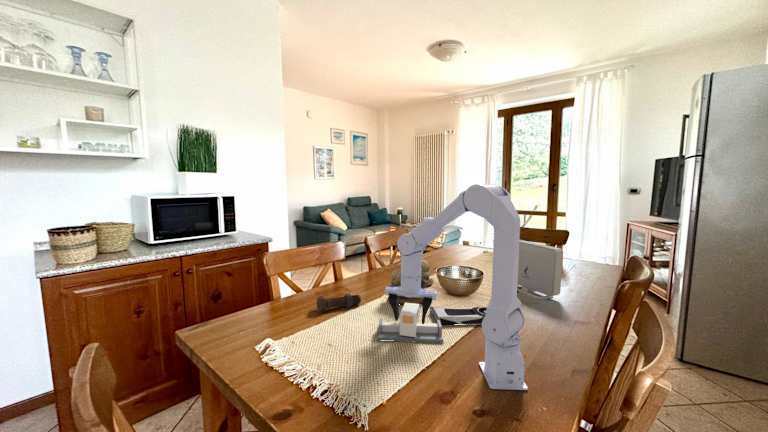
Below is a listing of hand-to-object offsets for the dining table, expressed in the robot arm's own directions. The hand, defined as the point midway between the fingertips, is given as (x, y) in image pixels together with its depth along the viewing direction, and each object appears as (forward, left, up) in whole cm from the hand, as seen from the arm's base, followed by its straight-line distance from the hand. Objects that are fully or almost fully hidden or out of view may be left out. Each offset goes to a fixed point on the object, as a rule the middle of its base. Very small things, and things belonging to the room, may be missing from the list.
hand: (409, 320), depth 90 cm
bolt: (+18, +23, -4) cm, 29 cm away
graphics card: (+11, -20, -5) cm, 24 cm away
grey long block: (0, 0, -4) cm, 4 cm away
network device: (+40, -51, -4) cm, 65 cm away
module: (0, 0, -2) cm, 3 cm away
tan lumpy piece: (+27, -2, -4) cm, 27 cm away
